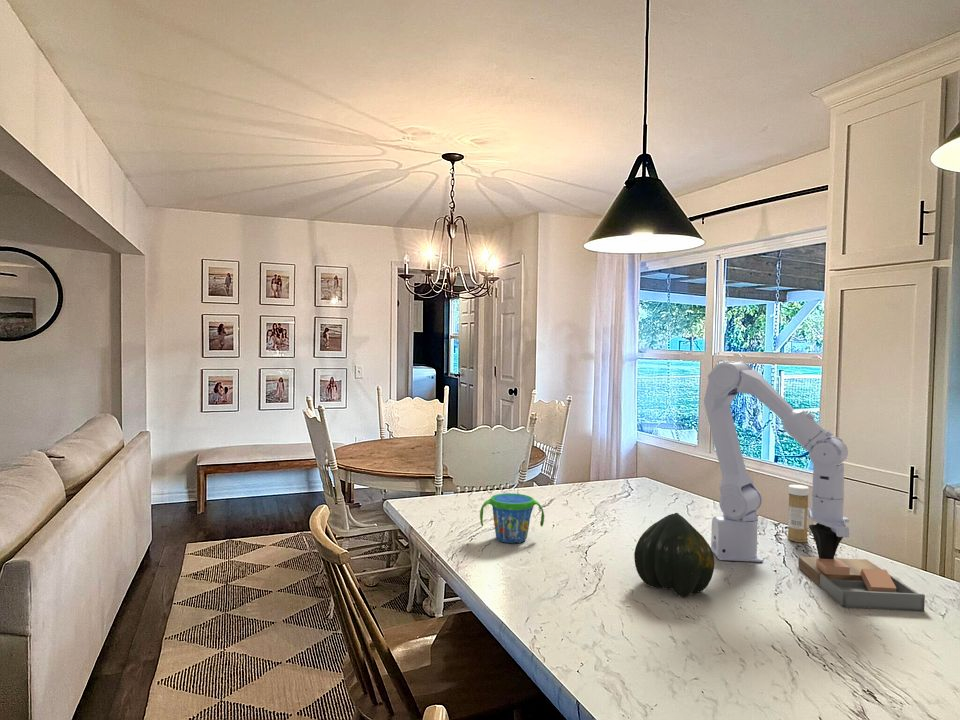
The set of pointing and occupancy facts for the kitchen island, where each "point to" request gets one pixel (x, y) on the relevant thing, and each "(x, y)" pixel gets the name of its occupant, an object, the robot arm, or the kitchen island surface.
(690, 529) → the squash
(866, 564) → the walnut board
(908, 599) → the tray
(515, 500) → the snack cup
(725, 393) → the robot arm
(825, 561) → the tile left
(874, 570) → the tile right
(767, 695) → the kitchen island surface
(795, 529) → the sprinkles bottle
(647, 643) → the kitchen island surface
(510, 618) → the kitchen island surface
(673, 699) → the kitchen island surface
